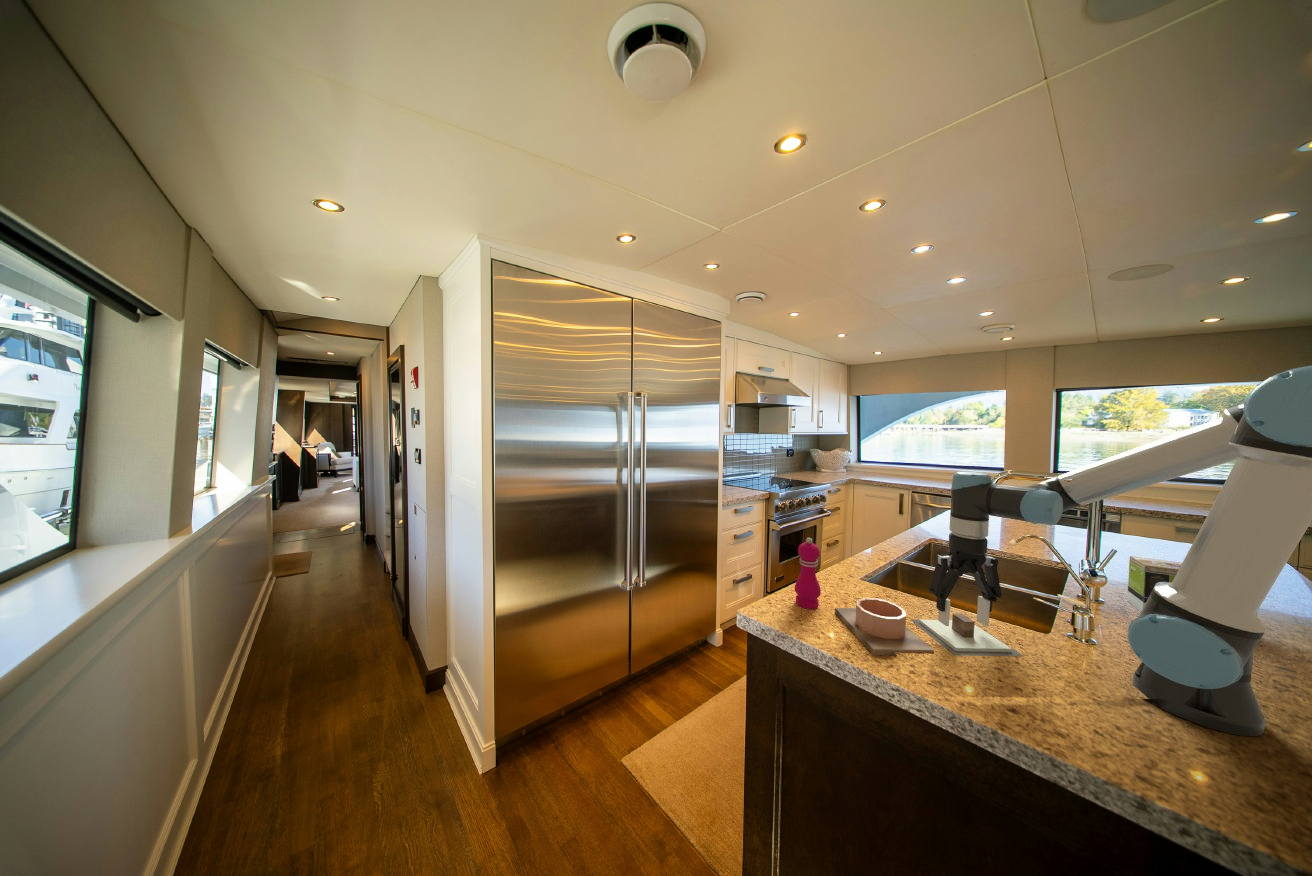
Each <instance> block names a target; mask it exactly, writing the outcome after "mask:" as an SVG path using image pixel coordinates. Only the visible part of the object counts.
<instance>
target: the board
mask: <svg viewBox="0 0 1312 876" xmlns="http://www.w3.org/2000/svg"><path fill="white" fill-rule="evenodd" d="M834 614H835V615H836V616H837V617H838V618H839V619H840V621H842V622H843V623H844V624H845V626H846V627H847V629H849V630H850V632H852V634H853V635H855V637H856V638H857V639H858V640H859V642H861V643H862V645H863V646H865V649H867V650H868V651H869V653H871V654H872V656H886V657H887V656H892V657H893V656H894V657H896V656H897V655H898V654H896V653H897V652H899V653H935V650H934V648H932V647H931V646H930V645H929V644H928V643H927V642H925V641H924V640H923V639H921V638H920V637H919V636H918V635H917V634H916V633H914V632H913V631H912V630H911V629H910V628H909V627H907V626H906V627H905V636H903V637H901V638H899V639H886V638H882V637H878V636H874V635H871V634H869V633H867V632H865V631H863V630H861V629H860V628H859V627H858V626H857V625H856V607H835V608H834Z"/></svg>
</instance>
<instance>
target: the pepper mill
mask: <svg viewBox="0 0 1312 876" xmlns="http://www.w3.org/2000/svg"><path fill="white" fill-rule="evenodd" d="M797 554H798V555H799V557H800V558H799V564H800V573H799V575H798V577H797V579H796V580H795V584H794V592H795V593H796V596H795V603H796V605H797V606H798V607H799V608H802V609H803V608H804V609H807V610H815V609H817V608H819V605H820V604H819V603H820V602H819V601H820V600H819V599H818V598H819V597H820V596H821V594H822V591H821V586H820V583H819V581H818V578H817V575H816V573H817V572H816V571H817V570H816V569H817V567H818V565H819V563H818V562H819V561H818V559H819V557H820V556H821V550H820V548H819V546H817V545H816V544H815V543H813V538H811V537H807V538H806V539H805V542H803V543H800V544H799V546H798V549H797Z"/></svg>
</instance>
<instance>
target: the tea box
mask: <svg viewBox="0 0 1312 876" xmlns="http://www.w3.org/2000/svg"><path fill="white" fill-rule="evenodd" d="M1128 563H1129V564H1128V582H1127V583H1128V584H1127V602H1128V603H1129V604H1130V605H1131V606H1132V605H1133V606H1132V607H1133V608H1135V609H1136V610H1137V609H1138V610H1139V611H1138V610H1137V611H1138V612H1140V613H1141V611H1142V609H1143V607H1144V605H1145V603H1146V602H1147V600H1148V598H1149V596H1150V594H1151V592H1152V590H1153V588H1154V587H1155V584H1156V583H1158V582H1170V583H1172V582H1173V580H1174V578H1175V576H1176V574H1177V572H1178V570H1179V569H1180V567H1181V565H1182V563H1183V562H1180V561H1172V560H1170V561H1169V560H1165V559H1164V560H1163V559H1155V558H1147V557H1139V556H1129V562H1128Z"/></svg>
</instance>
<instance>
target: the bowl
mask: <svg viewBox="0 0 1312 876" xmlns="http://www.w3.org/2000/svg"><path fill="white" fill-rule="evenodd" d="M855 608H856V625H857V626H858V627H859V628H860V629H861V630H863V631H865V632H867V633H869V634H871V635H874V636H878V637H882V638H886V639H899V638H901V637H903V636H905V627H907V626H906V625H907V624H906V623H907V611H906V610H905V609H904V608H902V607H901V606H900V605H898V604H896V603H893V602H891V601H888V600H884V599H881V598H876V597H875V598H874V597H872V598H871V597H862V598H860V599H857V600H856V604H855Z"/></svg>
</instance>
